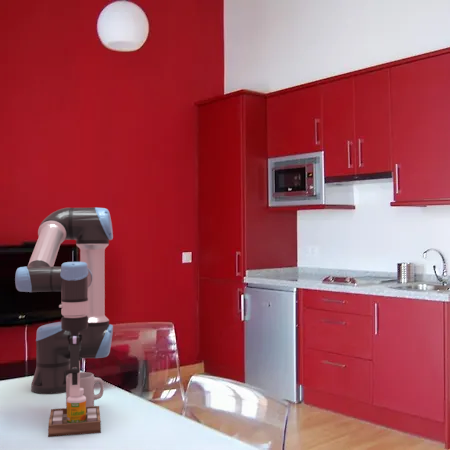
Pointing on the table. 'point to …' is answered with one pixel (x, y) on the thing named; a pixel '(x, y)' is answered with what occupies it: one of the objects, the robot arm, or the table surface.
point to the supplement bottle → (76, 408)
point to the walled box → (61, 427)
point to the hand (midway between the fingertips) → (75, 389)
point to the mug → (87, 387)
